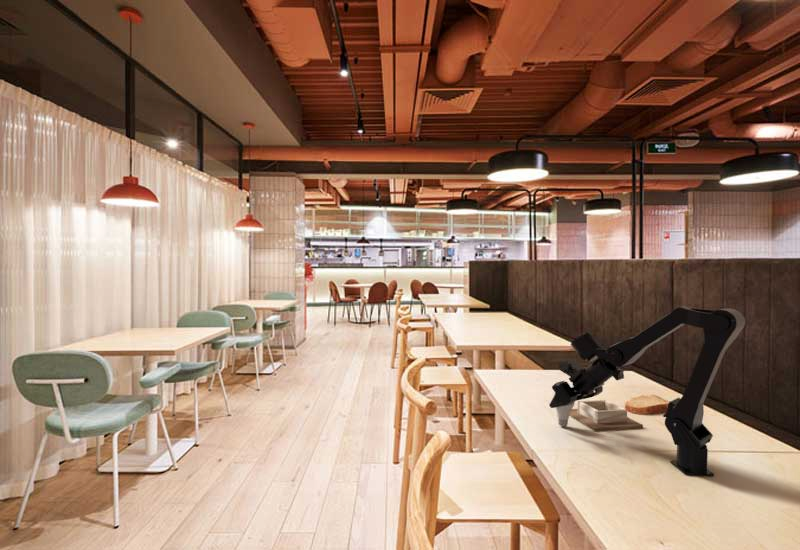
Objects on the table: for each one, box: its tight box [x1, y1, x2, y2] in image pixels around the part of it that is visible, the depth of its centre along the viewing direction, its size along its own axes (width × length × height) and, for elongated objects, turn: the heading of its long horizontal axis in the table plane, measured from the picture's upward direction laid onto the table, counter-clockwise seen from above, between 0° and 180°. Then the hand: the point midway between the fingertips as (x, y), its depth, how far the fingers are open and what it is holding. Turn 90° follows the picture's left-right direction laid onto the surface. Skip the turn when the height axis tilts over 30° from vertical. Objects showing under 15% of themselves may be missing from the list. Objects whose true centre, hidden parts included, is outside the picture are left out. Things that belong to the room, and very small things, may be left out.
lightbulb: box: [552, 393, 576, 428], centre depth 128 cm, size 6×6×11 cm
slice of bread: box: [624, 394, 670, 416], centre depth 146 cm, size 18×18×4 cm
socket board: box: [569, 399, 644, 432], centre depth 134 cm, size 16×16×4 cm
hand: (559, 403), depth 129 cm, fingers open, 9 cm apart
